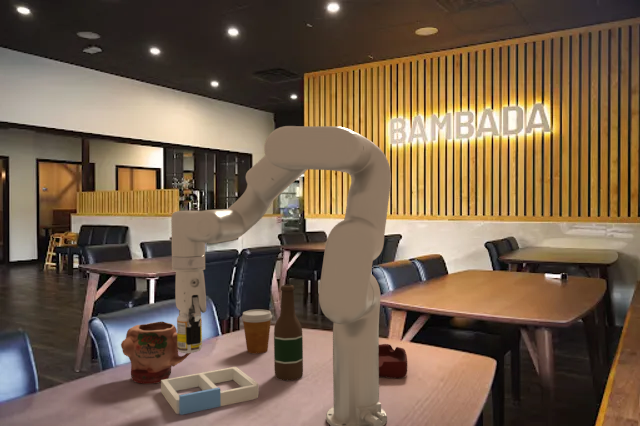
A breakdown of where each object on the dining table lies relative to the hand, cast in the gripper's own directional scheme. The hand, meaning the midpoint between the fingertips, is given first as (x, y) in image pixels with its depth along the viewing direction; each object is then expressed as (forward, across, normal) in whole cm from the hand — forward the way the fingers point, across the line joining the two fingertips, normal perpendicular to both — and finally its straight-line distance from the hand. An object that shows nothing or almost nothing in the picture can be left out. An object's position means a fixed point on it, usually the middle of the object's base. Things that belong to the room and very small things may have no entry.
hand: (189, 339), depth 118 cm
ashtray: (+14, -8, -50) cm, 52 cm away
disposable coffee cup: (+14, +28, -29) cm, 42 cm away
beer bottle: (+14, +2, -27) cm, 30 cm away
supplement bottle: (+3, 0, 0) cm, 3 cm away
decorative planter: (+14, +19, +3) cm, 24 cm away
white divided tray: (+14, 0, -5) cm, 15 cm away
